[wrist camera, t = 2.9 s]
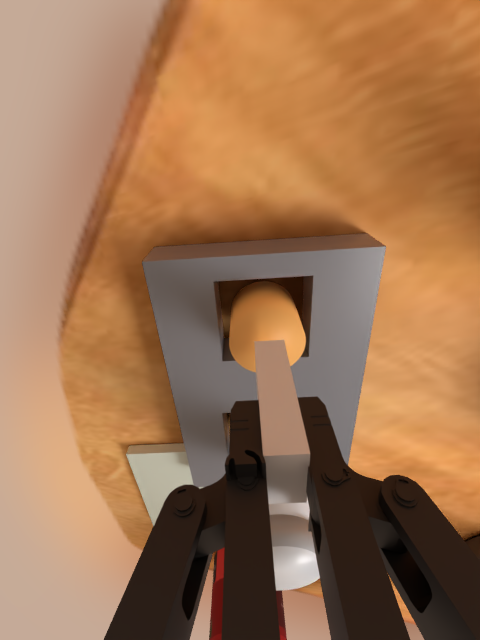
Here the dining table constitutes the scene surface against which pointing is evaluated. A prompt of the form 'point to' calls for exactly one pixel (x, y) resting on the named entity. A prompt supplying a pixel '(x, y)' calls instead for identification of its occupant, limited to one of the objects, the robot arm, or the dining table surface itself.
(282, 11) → the dining table surface
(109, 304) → the dining table surface
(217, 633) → the canned food
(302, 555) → the cartridge
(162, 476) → the mat
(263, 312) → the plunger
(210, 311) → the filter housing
